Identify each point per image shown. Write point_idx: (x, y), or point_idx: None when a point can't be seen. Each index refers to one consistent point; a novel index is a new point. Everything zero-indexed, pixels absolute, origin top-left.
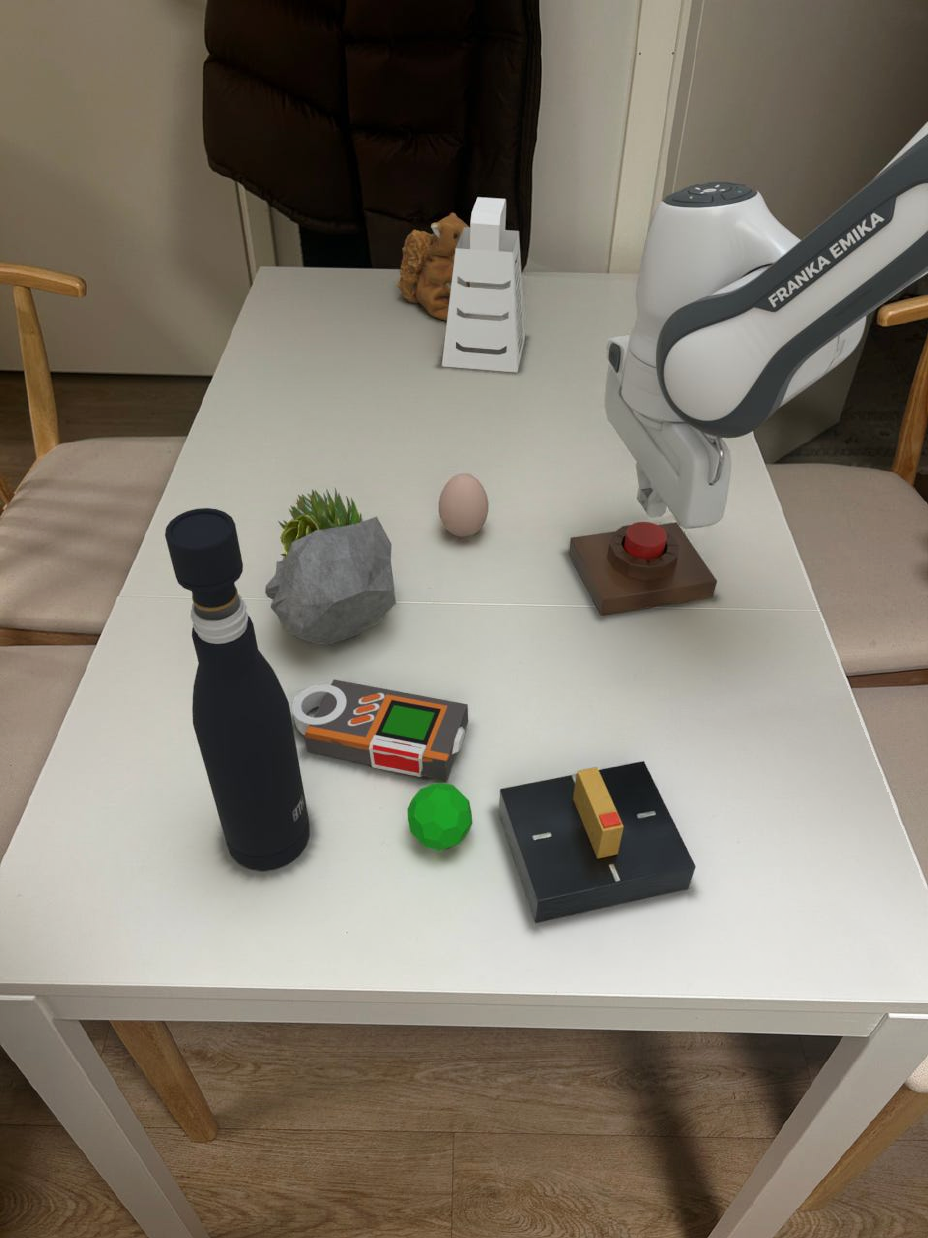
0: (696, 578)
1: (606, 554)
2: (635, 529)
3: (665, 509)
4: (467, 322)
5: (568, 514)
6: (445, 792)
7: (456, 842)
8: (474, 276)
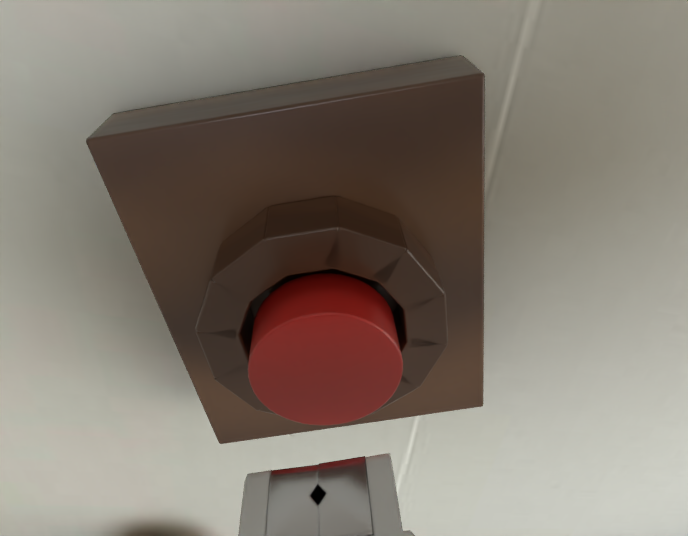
0: (452, 151)
1: None
2: (297, 400)
3: (392, 476)
4: None
5: (44, 384)
6: None
7: None
8: None
